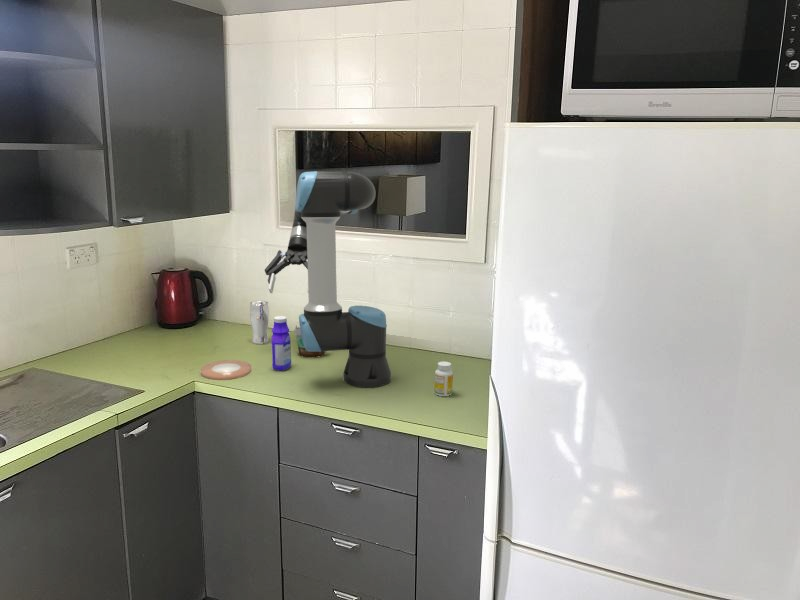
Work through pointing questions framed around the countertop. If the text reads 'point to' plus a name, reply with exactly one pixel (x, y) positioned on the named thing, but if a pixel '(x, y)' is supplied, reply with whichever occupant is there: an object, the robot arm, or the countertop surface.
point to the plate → (226, 369)
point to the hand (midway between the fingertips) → (289, 292)
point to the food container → (302, 349)
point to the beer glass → (259, 321)
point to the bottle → (281, 344)
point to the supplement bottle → (443, 379)
